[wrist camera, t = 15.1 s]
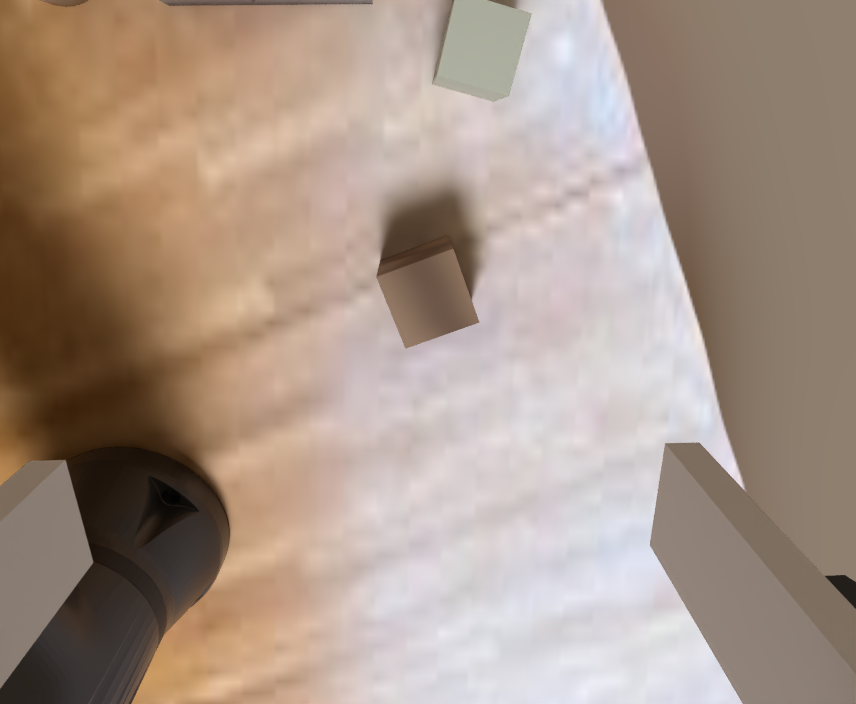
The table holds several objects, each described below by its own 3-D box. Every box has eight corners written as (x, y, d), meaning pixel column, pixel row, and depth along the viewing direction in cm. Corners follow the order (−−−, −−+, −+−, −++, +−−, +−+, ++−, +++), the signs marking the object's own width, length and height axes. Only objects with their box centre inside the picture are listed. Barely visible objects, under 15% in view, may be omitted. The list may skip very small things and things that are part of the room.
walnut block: (406, 324, 42) (405, 348, 37) (380, 260, 40) (376, 276, 35) (471, 301, 41) (479, 322, 37) (448, 235, 40) (453, 248, 35)
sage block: (432, 84, 36) (436, 75, 30) (448, 13, 35) (456, -10, 29) (493, 101, 37) (508, 95, 31) (512, 32, 35) (531, 13, 30)
